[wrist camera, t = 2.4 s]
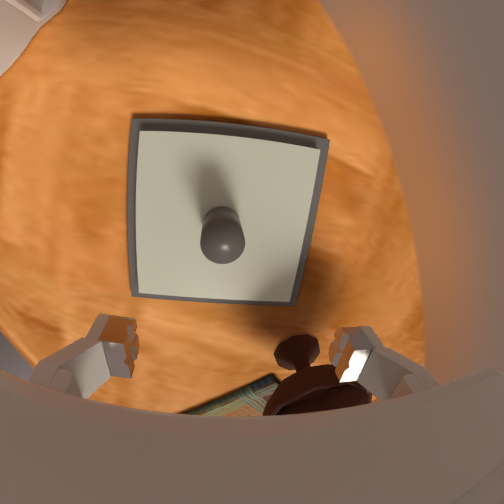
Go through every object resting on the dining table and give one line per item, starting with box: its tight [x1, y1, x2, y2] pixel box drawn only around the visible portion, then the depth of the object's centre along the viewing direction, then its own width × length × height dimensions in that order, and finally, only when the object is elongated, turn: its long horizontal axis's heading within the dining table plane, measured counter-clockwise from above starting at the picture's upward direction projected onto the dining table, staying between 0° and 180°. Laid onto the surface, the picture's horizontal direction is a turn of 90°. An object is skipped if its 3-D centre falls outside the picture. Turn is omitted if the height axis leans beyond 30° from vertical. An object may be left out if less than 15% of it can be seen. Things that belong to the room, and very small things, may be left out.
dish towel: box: [184, 375, 280, 416], centre depth 36 cm, size 17×23×2 cm
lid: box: [136, 131, 320, 302], centre depth 21 cm, size 14×14×5 cm
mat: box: [127, 119, 330, 306], centre depth 23 cm, size 16×16×1 cm
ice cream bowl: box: [263, 335, 372, 416], centre depth 24 cm, size 11×11×15 cm
